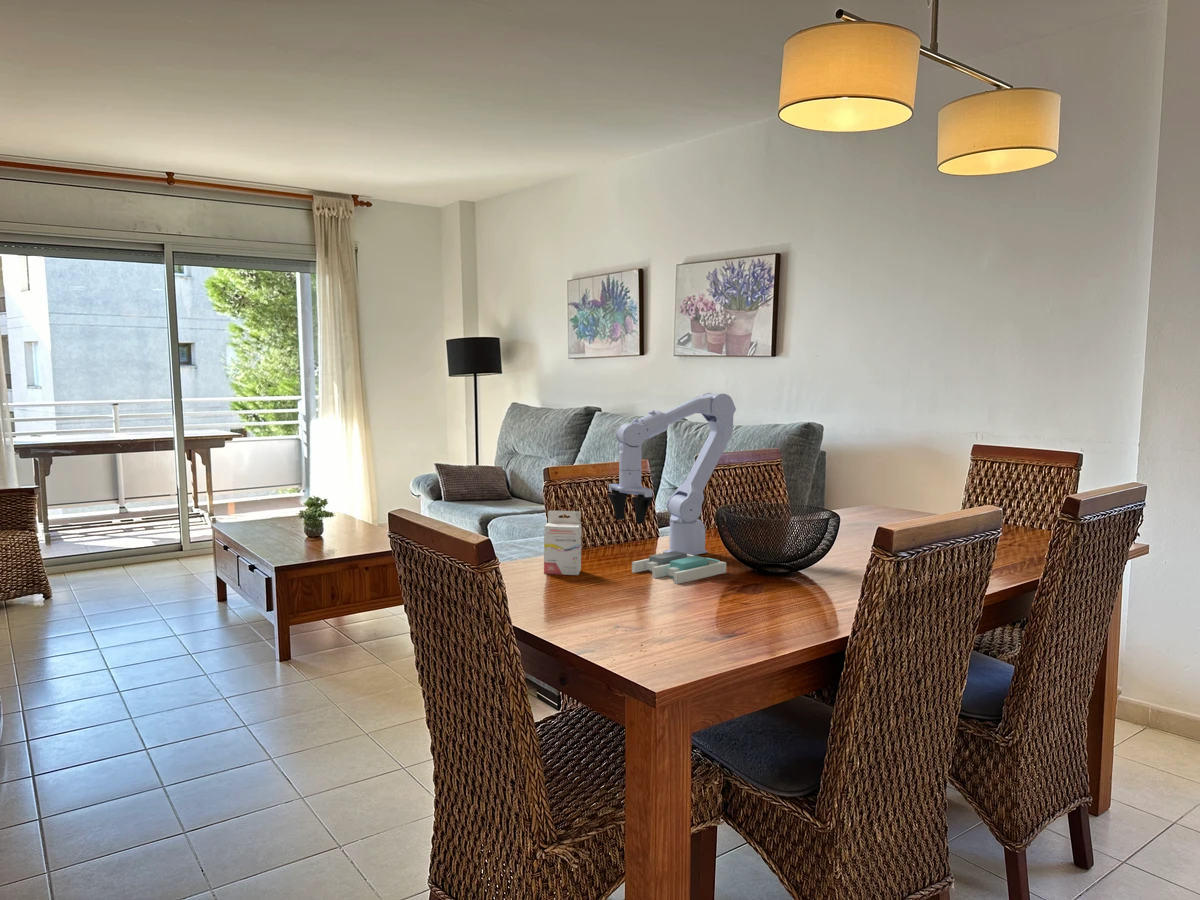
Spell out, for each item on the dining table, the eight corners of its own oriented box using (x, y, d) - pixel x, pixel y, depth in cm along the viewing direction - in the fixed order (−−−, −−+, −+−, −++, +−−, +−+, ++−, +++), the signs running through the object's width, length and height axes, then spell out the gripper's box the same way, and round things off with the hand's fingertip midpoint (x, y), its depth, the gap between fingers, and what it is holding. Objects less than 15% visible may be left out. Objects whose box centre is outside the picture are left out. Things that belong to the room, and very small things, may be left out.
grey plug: (680, 565, 207) (680, 549, 207) (692, 568, 204) (692, 552, 204) (643, 573, 199) (643, 557, 198) (654, 576, 196) (655, 559, 195)
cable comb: (679, 561, 210) (680, 551, 210) (726, 572, 199) (726, 561, 199) (631, 572, 199) (631, 561, 199) (677, 584, 188) (677, 572, 187)
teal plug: (699, 570, 202) (699, 554, 202) (712, 573, 199) (712, 557, 199) (664, 579, 193) (664, 562, 193) (677, 582, 190) (677, 565, 190)
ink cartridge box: (543, 574, 196) (543, 513, 195) (546, 569, 201) (546, 510, 200) (579, 575, 195) (579, 514, 194) (581, 570, 200) (581, 510, 199)
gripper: (600, 468, 216) (600, 519, 217) (638, 473, 205) (638, 527, 207) (620, 466, 221) (619, 516, 222) (658, 471, 210) (657, 524, 211)
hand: (629, 521), depth 215 cm, fingers open, 7 cm apart
